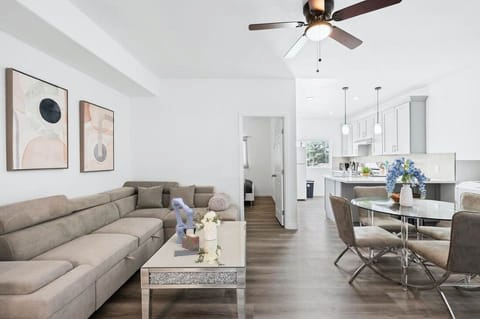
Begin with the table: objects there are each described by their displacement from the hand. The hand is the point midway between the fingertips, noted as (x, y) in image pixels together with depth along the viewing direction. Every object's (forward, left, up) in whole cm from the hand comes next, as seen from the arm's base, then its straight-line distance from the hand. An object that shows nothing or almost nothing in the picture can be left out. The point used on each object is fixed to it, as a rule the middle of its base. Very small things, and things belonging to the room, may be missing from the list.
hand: (190, 236), depth 246 cm
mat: (+19, 0, -9) cm, 21 cm away
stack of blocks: (+8, 0, -9) cm, 12 cm away
